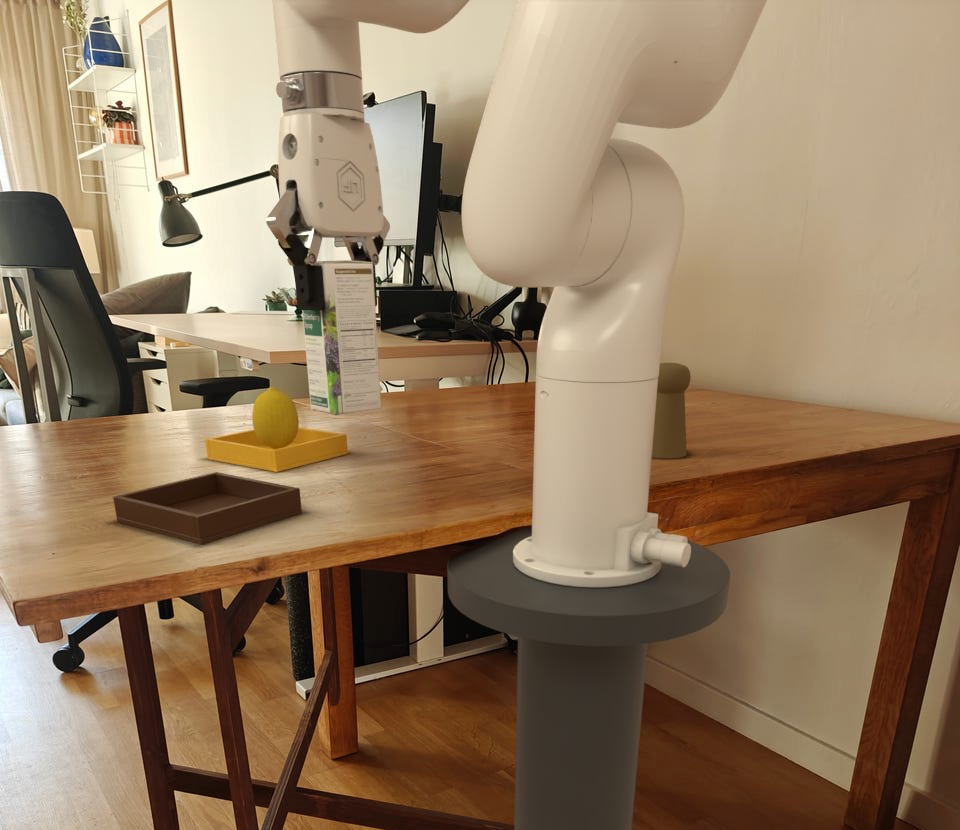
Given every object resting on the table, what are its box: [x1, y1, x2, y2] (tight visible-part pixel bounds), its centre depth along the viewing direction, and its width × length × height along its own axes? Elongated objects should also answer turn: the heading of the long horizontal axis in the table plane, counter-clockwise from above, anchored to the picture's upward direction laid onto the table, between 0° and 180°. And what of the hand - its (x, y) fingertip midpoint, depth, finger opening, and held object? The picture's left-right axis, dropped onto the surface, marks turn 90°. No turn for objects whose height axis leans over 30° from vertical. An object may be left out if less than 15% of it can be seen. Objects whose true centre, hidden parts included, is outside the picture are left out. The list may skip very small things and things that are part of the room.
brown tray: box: [112, 471, 303, 545], centre depth 83 cm, size 12×12×2 cm
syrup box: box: [301, 259, 382, 416], centre depth 88 cm, size 6×6×14 cm
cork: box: [652, 362, 692, 459], centre depth 108 cm, size 6×6×11 cm
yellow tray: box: [204, 426, 349, 473], centre depth 108 cm, size 12×12×2 cm
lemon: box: [251, 386, 300, 449], centre depth 106 cm, size 6×6×8 cm
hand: (338, 307), depth 87 cm, fingers closed on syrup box, 7 cm apart
